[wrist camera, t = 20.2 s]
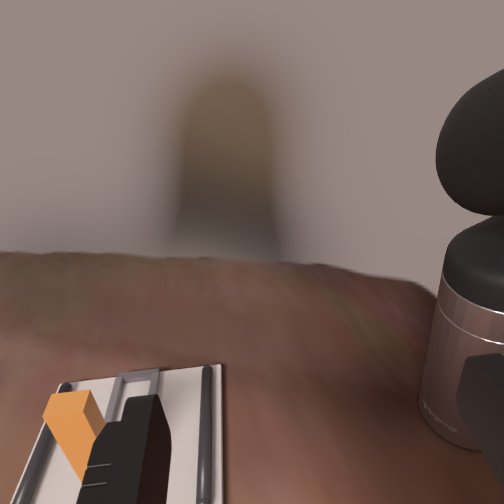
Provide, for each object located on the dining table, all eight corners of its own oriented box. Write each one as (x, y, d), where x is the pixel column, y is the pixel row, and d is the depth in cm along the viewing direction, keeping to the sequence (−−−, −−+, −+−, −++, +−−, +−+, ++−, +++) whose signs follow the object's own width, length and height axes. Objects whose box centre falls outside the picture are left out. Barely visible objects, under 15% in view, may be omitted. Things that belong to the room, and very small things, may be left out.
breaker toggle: (142, 466, 38) (106, 381, 32) (136, 502, 36) (95, 416, 29) (87, 473, 38) (40, 389, 32) (77, 509, 36) (24, 425, 29)
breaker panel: (222, 370, 51) (219, 356, 49) (223, 529, 35) (219, 514, 34) (63, 390, 50) (55, 376, 49) (-5, 558, 35) (-18, 544, 34)
